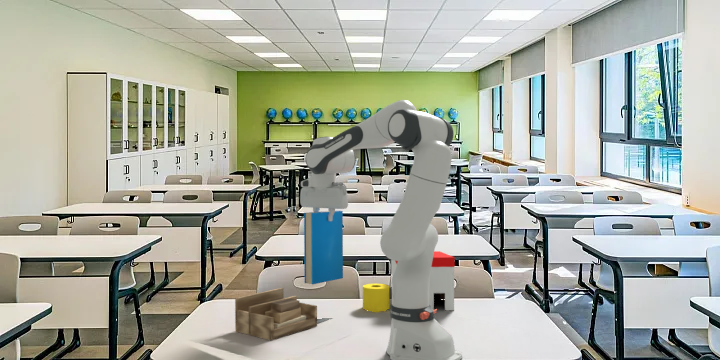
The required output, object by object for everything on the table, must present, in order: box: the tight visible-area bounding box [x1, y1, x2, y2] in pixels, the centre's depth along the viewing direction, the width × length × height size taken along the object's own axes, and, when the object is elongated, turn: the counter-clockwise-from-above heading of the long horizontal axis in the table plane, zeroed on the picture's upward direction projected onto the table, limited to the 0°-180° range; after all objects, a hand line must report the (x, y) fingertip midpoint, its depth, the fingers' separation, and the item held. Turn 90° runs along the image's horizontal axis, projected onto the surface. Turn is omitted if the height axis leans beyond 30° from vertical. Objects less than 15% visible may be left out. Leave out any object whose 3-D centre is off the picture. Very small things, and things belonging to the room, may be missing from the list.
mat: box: [317, 318, 333, 325], centre depth 213 cm, size 10×20×1 cm, turn 142°
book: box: [303, 210, 344, 285], centre depth 213 cm, size 17×4×25 cm, turn 142°
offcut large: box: [274, 315, 306, 329], centre depth 195 cm, size 7×14×3 cm, turn 145°
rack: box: [234, 287, 318, 341], centre depth 197 cm, size 17×21×11 cm
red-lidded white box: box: [390, 250, 456, 311], centre depth 234 cm, size 21×35×21 cm, turn 1°
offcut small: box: [271, 299, 300, 313], centre depth 195 cm, size 5×8×2 cm, turn 139°
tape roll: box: [362, 283, 391, 313], centre depth 221 cm, size 10×10×9 cm
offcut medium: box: [265, 307, 301, 324], centre depth 194 cm, size 6×11×3 cm, turn 149°
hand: (323, 220), depth 213 cm, fingers closed on book, 4 cm apart
